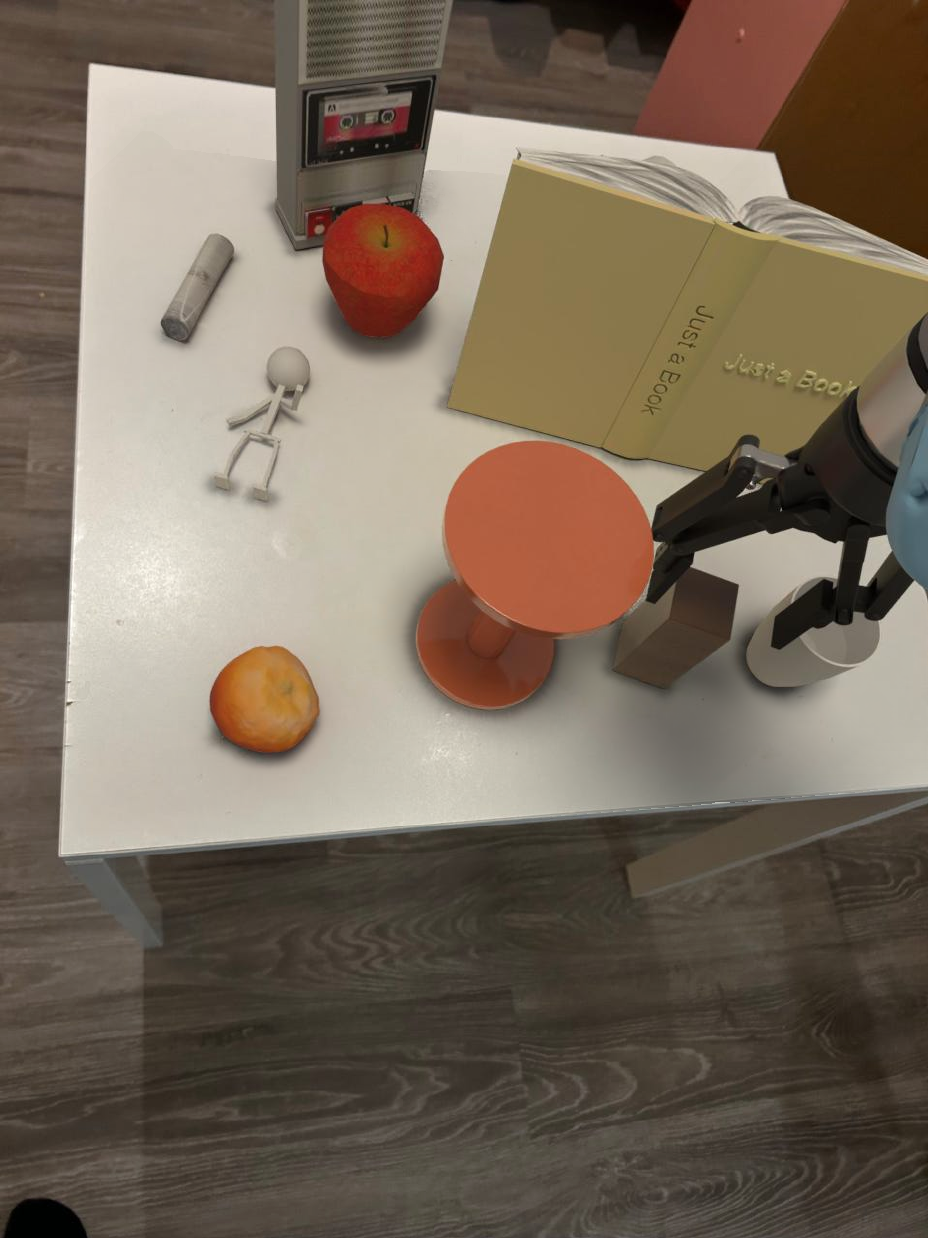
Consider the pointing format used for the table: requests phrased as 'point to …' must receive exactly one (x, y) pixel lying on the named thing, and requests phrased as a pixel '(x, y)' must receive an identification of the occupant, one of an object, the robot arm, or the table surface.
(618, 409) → the book
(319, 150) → the cassette tape recorder
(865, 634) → the cup
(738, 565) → the table surface
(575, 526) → the orange pedestal stand
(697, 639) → the walnut block
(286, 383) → the figurine
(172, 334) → the rod
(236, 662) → the fruit
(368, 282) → the apple
